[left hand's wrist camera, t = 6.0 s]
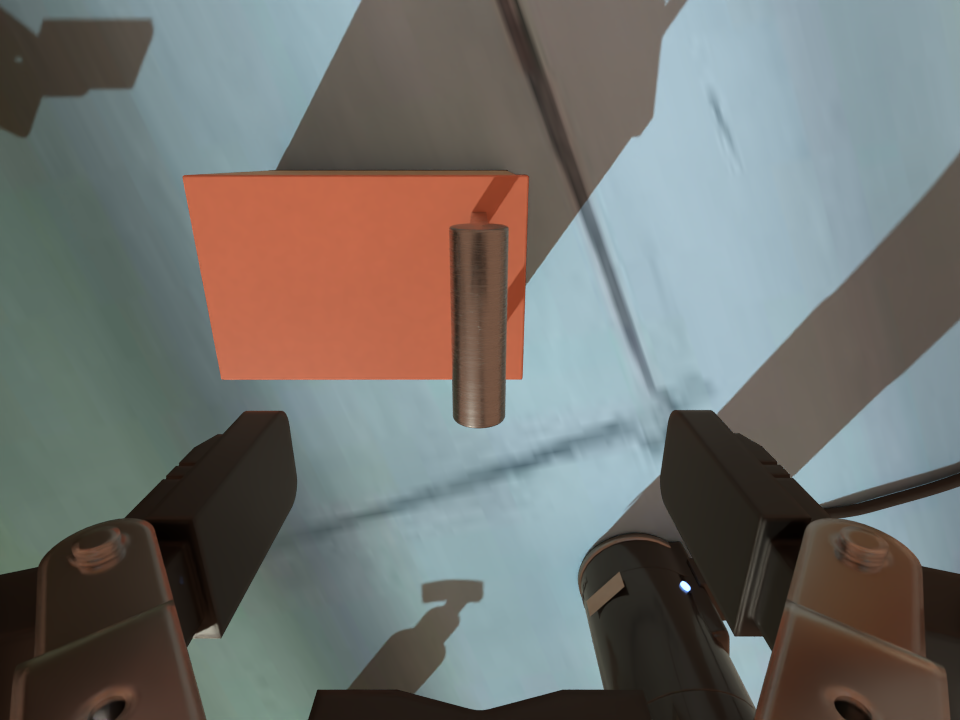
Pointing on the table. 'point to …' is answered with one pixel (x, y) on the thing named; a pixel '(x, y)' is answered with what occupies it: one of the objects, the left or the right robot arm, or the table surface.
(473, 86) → the table surface
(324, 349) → the lid
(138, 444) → the table surface
